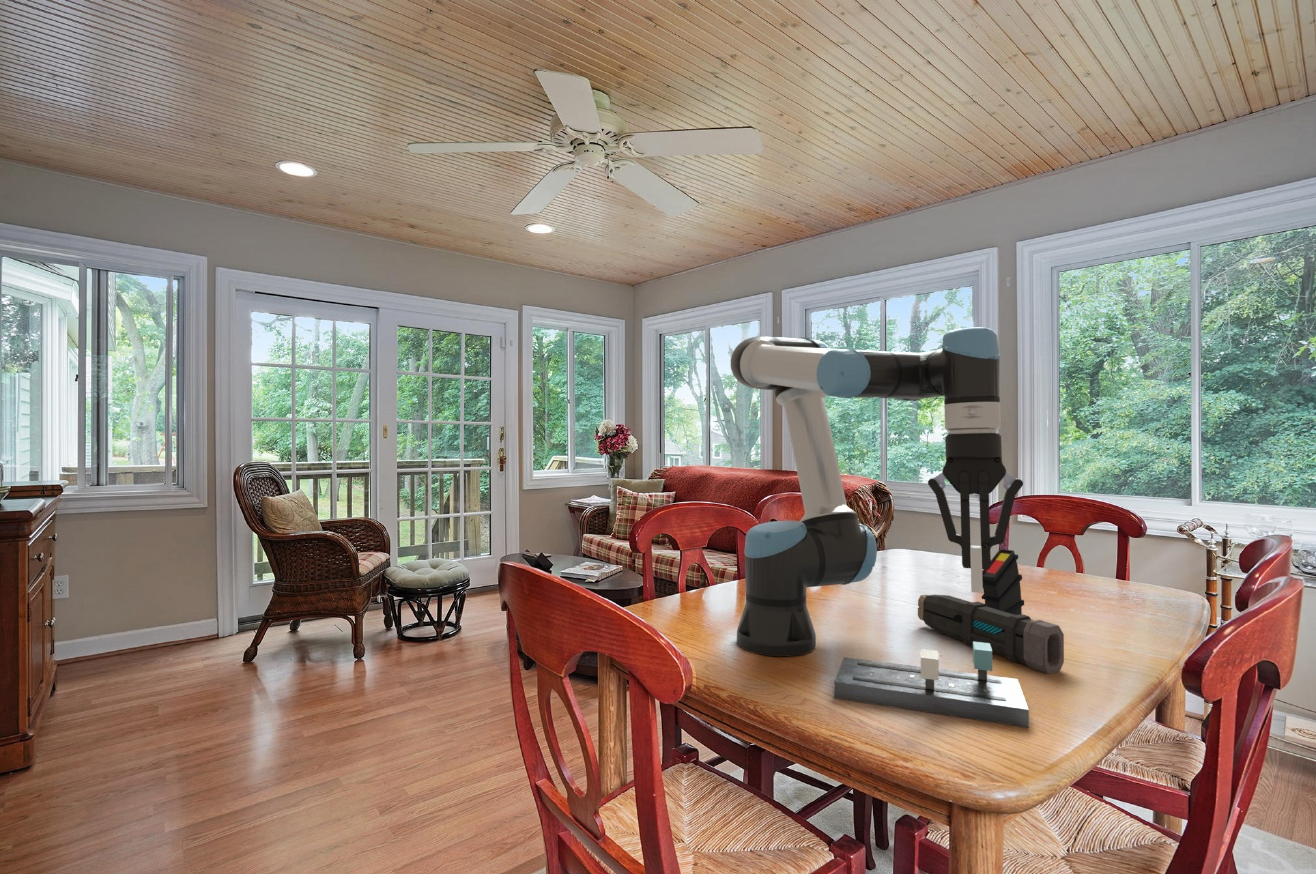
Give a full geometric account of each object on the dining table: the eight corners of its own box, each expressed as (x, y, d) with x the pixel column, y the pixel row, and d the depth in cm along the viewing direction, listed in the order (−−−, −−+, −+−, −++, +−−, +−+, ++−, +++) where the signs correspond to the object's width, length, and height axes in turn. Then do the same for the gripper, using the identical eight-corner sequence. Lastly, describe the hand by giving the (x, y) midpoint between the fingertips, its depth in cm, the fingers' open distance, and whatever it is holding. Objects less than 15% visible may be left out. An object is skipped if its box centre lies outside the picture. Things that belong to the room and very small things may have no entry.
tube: (941, 637, 135) (1077, 666, 108) (918, 649, 133) (1052, 681, 105) (926, 588, 136) (1059, 604, 108) (903, 599, 133) (1033, 618, 105)
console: (834, 698, 97) (834, 681, 97) (844, 671, 108) (843, 656, 108) (1028, 727, 87) (1028, 709, 87) (1017, 695, 98) (1017, 678, 98)
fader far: (974, 682, 96) (974, 649, 96) (972, 673, 100) (972, 641, 100) (992, 684, 95) (992, 651, 95) (990, 675, 99) (989, 643, 99)
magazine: (1030, 606, 142) (1016, 550, 138) (1005, 642, 135) (990, 583, 131) (1012, 603, 145) (999, 547, 141) (988, 638, 138) (972, 580, 134)
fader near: (920, 691, 92) (920, 657, 92) (921, 681, 96) (920, 649, 96) (938, 694, 92) (938, 659, 92) (938, 684, 95) (938, 651, 95)
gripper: (923, 433, 94) (927, 592, 93) (1024, 430, 88) (1029, 600, 87) (926, 434, 101) (930, 582, 100) (1020, 431, 95) (1025, 589, 94)
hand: (977, 590), depth 94 cm, fingers closed
